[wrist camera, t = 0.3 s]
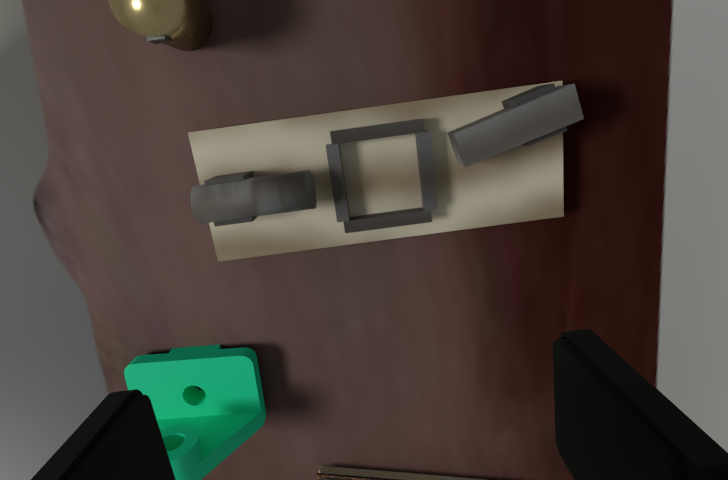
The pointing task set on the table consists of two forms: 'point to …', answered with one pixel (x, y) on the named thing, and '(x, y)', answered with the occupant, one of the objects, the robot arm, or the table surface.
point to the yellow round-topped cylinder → (166, 21)
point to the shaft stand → (384, 171)
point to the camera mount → (201, 402)
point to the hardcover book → (376, 475)
